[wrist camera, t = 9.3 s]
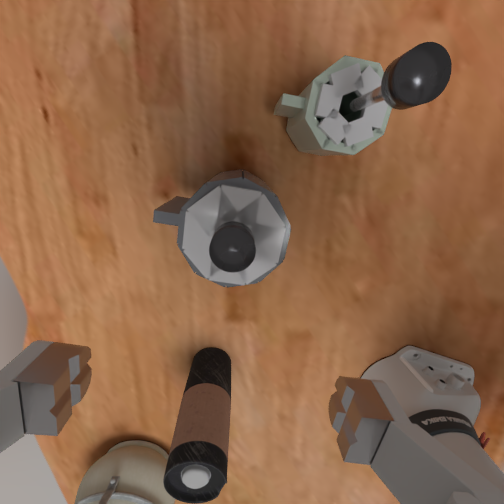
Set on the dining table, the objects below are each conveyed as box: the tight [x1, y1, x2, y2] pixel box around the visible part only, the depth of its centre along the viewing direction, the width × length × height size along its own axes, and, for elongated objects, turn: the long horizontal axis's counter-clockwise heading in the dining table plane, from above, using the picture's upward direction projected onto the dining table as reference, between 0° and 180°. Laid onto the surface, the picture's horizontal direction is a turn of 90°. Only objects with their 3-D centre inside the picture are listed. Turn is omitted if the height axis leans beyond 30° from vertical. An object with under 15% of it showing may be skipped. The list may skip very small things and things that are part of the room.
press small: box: [274, 55, 392, 156], centre depth 32 cm, size 10×8×14 cm
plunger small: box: [350, 42, 451, 112], centre depth 20 cm, size 3×3×10 cm
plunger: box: [209, 221, 256, 273], centre depth 27 cm, size 4×4×13 cm
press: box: [153, 169, 291, 287], centre depth 33 cm, size 13×11×18 cm
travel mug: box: [163, 348, 231, 503], centre depth 42 cm, size 8×8×20 cm
